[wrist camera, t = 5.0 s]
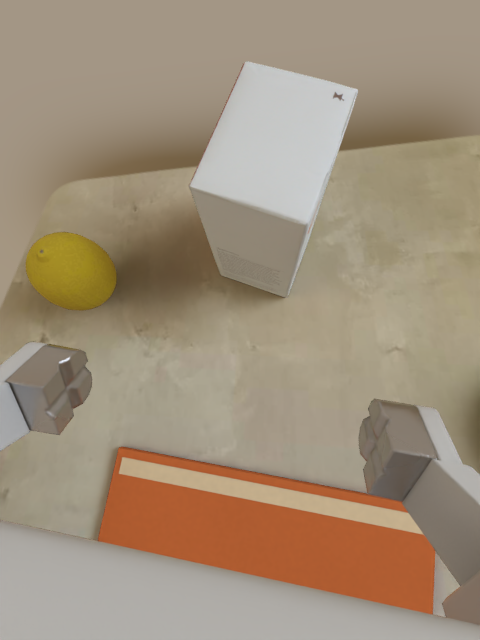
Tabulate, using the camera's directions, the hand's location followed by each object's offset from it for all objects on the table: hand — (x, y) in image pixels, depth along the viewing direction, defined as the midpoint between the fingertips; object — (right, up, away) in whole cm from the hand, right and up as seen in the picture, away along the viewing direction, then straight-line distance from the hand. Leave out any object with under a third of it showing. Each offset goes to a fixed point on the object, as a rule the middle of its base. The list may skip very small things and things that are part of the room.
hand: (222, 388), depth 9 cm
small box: (+3, +8, +20) cm, 22 cm away
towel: (+2, -18, +14) cm, 23 cm away
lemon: (-12, +5, +20) cm, 23 cm away
